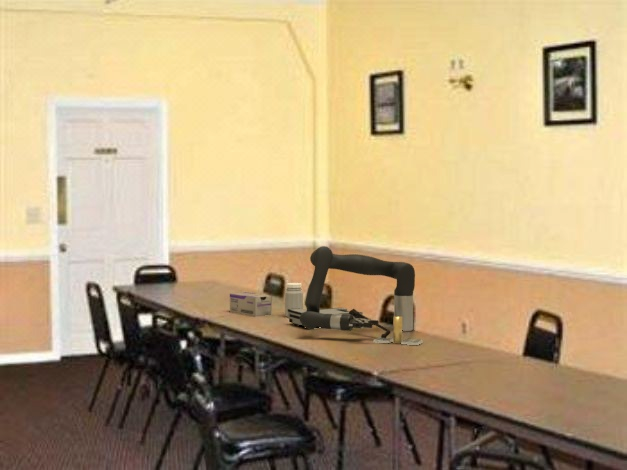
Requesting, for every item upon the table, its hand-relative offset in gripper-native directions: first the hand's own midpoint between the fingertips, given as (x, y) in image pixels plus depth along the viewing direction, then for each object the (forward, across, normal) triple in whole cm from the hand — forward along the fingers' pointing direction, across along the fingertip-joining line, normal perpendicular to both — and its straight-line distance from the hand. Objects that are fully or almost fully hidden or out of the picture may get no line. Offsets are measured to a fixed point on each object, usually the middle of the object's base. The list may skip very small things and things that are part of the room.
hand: (375, 324), depth 442 cm
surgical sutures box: (-95, +64, +9) cm, 115 cm away
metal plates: (+11, 0, +8) cm, 13 cm away
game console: (-41, +40, +9) cm, 58 cm away
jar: (-68, +61, +8) cm, 91 cm away
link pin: (+11, 0, +8) cm, 13 cm away
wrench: (-7, +13, +3) cm, 16 cm away
